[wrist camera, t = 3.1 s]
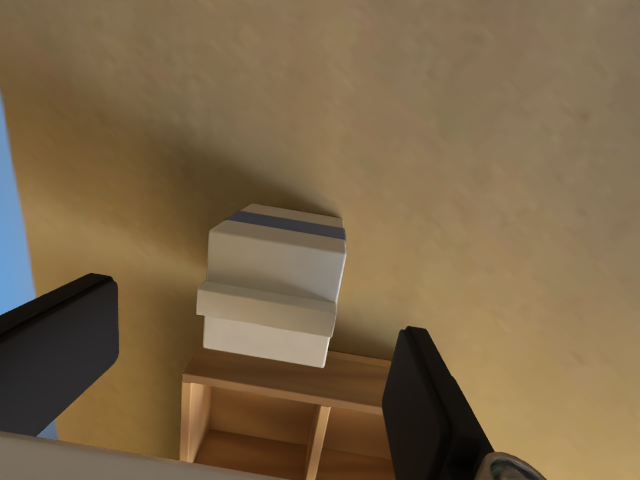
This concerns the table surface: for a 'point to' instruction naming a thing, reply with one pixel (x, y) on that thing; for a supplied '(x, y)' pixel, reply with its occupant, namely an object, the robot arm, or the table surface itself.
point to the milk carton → (273, 284)
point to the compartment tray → (286, 416)
